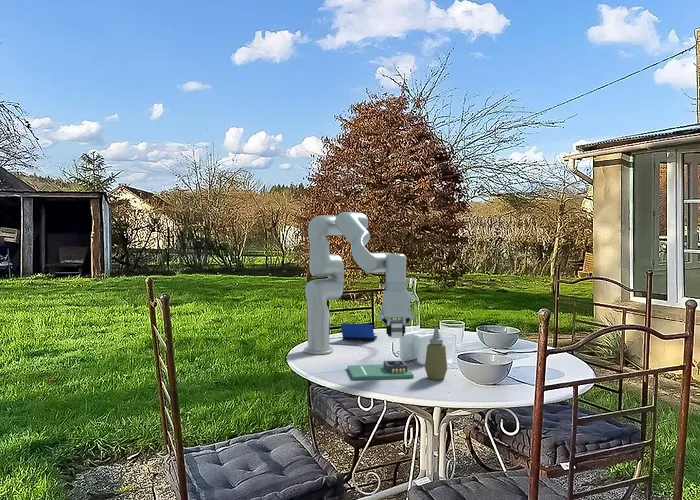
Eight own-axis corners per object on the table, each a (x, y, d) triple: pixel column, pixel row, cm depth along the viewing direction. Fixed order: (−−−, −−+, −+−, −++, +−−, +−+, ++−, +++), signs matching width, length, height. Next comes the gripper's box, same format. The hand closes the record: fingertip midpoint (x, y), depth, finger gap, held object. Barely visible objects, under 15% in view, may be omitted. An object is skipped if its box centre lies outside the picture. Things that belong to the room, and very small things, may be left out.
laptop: (377, 338, 266) (377, 319, 265) (372, 344, 252) (372, 324, 252) (346, 336, 269) (346, 318, 269) (340, 342, 256) (340, 323, 256)
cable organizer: (418, 367, 210) (418, 337, 210) (398, 362, 218) (398, 333, 217) (442, 360, 220) (442, 332, 220) (422, 356, 228) (422, 328, 227)
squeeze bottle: (442, 382, 189) (442, 331, 188) (421, 379, 193) (421, 329, 192) (450, 377, 195) (451, 328, 195) (430, 374, 200) (430, 325, 199)
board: (347, 368, 207) (347, 356, 207) (403, 366, 210) (403, 355, 210) (353, 380, 191) (353, 367, 191) (413, 378, 194) (413, 365, 194)
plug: (389, 335, 202) (389, 319, 202) (400, 335, 203) (400, 319, 203) (391, 338, 198) (391, 321, 198) (402, 337, 199) (402, 321, 199)
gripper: (375, 288, 195) (375, 338, 196) (420, 287, 197) (420, 337, 198) (371, 286, 203) (371, 334, 203) (415, 285, 205) (415, 333, 205)
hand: (395, 335), depth 201 cm, fingers closed on plug, 4 cm apart
